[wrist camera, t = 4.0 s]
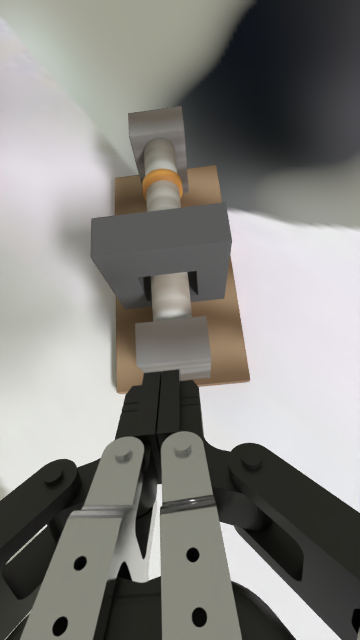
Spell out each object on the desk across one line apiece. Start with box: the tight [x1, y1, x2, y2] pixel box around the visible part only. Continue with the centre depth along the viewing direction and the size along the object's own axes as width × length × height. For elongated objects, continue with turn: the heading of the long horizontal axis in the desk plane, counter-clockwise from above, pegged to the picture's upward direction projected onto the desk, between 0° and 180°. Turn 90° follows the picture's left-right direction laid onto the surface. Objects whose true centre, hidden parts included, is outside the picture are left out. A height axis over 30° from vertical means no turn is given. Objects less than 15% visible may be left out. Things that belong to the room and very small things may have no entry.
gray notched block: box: [91, 202, 232, 309], centre depth 24 cm, size 3×9×9 cm, turn 95°
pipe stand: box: [115, 106, 250, 394], centre depth 29 cm, size 25×12×9 cm, turn 5°
